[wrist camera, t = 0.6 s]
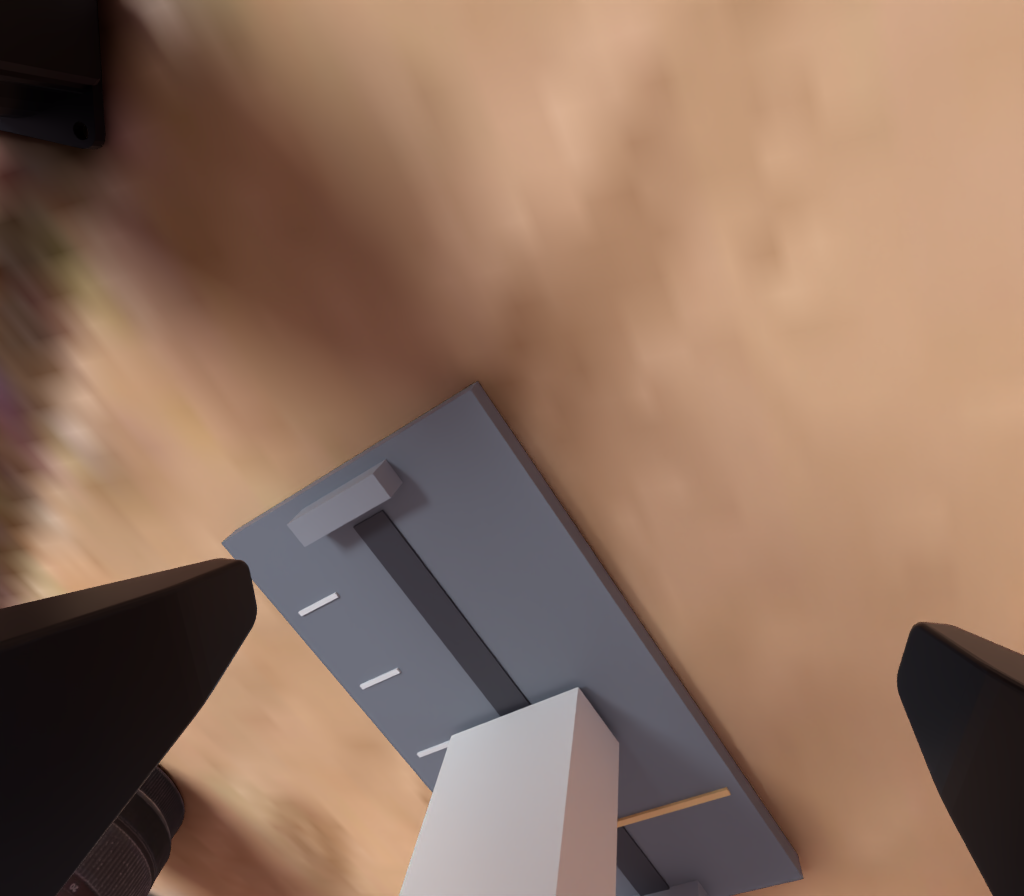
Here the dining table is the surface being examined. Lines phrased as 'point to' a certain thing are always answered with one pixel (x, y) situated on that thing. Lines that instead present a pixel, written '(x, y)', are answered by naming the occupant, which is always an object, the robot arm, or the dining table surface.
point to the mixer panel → (503, 636)
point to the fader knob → (523, 807)
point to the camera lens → (132, 844)
